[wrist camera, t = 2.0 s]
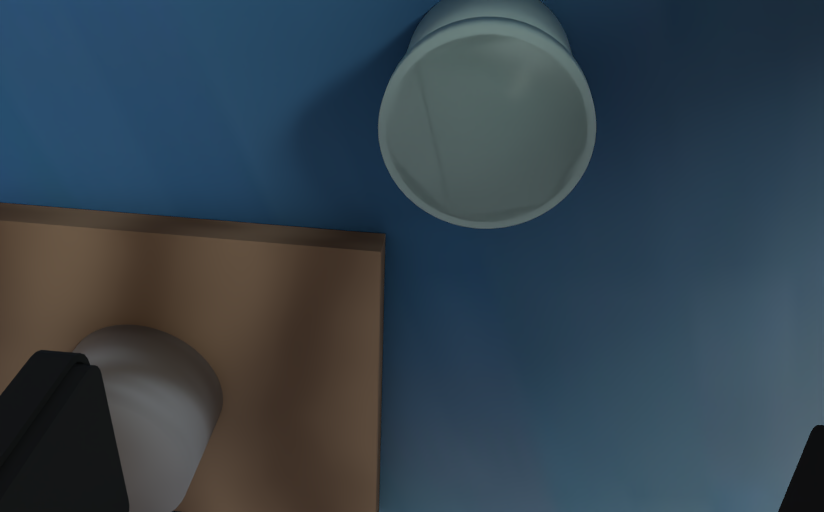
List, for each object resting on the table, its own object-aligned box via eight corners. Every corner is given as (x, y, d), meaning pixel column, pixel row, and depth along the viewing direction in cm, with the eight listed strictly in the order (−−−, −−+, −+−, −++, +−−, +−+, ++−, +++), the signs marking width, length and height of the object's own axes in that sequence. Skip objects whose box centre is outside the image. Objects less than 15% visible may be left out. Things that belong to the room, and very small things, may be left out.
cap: (591, -17, 22) (613, 33, 18) (564, 157, 25) (578, 236, 21) (402, -29, 23) (379, 17, 18) (396, 145, 25) (376, 220, 21)
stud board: (385, 233, 27) (363, 323, 23) (378, 509, 34) (361, 617, 30) (-113, 193, 28) (-226, 271, 24) (-16, 468, 36) (-89, 567, 31)
